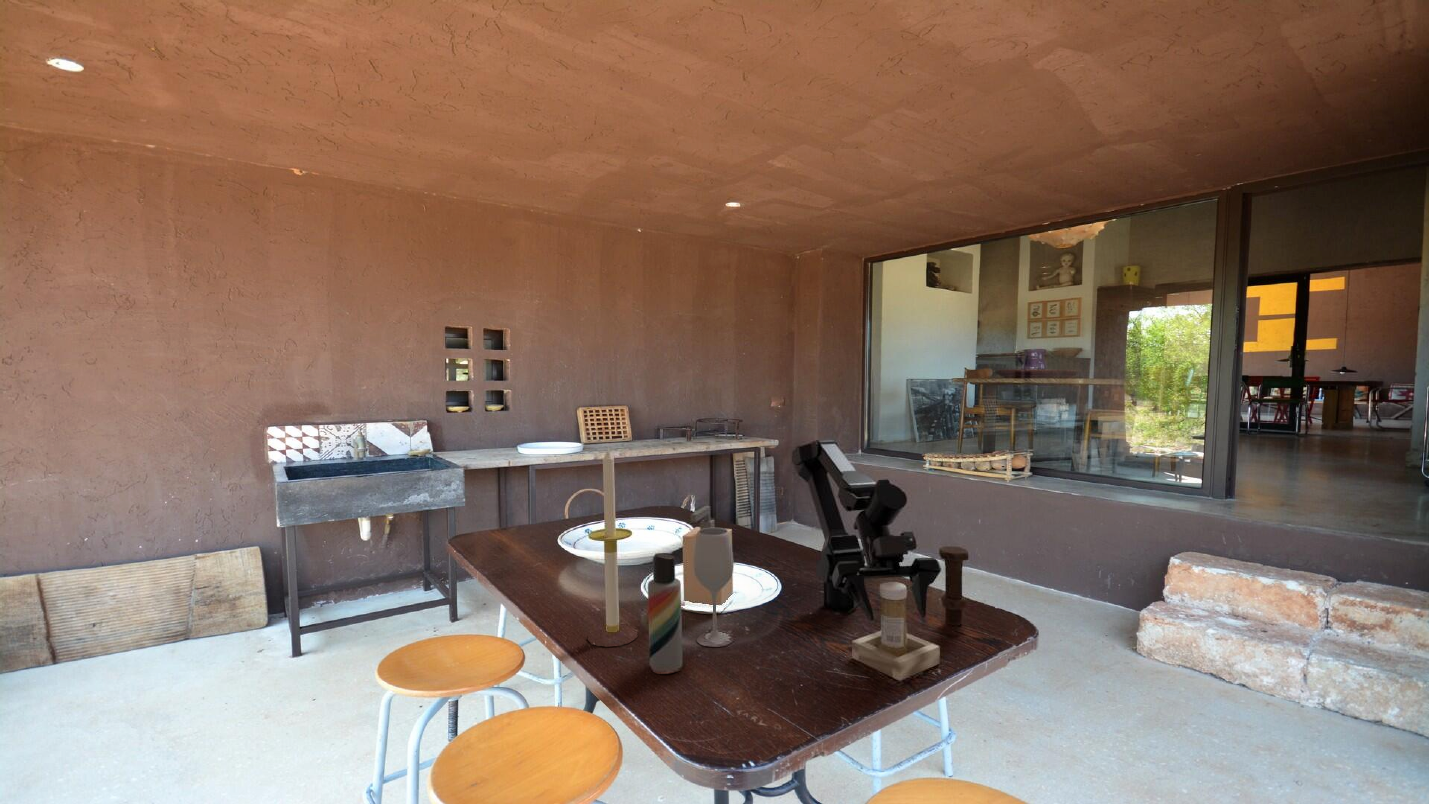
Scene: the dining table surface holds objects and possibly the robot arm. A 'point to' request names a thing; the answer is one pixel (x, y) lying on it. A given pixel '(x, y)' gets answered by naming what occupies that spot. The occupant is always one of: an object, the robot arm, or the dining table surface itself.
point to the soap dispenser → (691, 585)
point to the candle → (610, 544)
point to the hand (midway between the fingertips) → (898, 618)
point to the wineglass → (714, 568)
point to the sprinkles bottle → (893, 618)
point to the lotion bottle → (664, 615)
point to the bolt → (953, 583)
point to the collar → (901, 667)
